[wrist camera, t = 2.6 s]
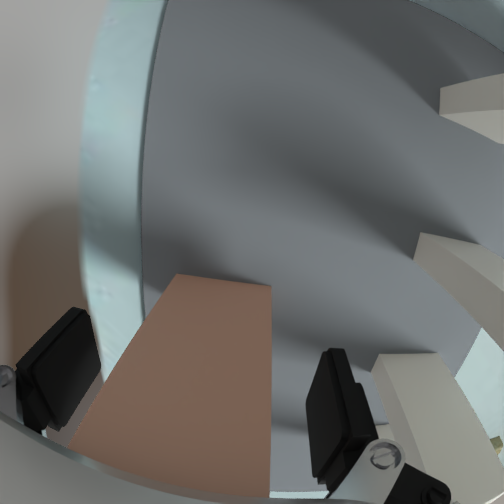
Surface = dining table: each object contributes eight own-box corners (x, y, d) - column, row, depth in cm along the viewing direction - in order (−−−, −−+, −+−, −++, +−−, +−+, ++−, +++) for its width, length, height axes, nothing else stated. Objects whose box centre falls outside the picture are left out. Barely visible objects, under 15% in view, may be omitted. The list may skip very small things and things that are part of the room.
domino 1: (176, 273, 15) (50, 478, 4) (271, 286, 15) (268, 537, 4) (176, 299, 15) (74, 500, 4) (267, 312, 15) (257, 546, 4)
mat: (524, 72, 9) (527, 71, 9) (365, 484, 24) (365, 486, 24) (178, -27, 9) (176, -30, 9) (174, 475, 24) (173, 478, 24)
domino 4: (379, 353, 16) (441, 523, 5) (437, 352, 16) (511, 486, 5) (370, 372, 17) (420, 535, 5) (428, 369, 17) (492, 502, 5)
